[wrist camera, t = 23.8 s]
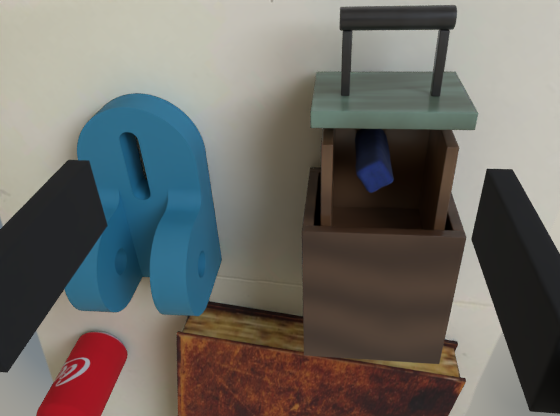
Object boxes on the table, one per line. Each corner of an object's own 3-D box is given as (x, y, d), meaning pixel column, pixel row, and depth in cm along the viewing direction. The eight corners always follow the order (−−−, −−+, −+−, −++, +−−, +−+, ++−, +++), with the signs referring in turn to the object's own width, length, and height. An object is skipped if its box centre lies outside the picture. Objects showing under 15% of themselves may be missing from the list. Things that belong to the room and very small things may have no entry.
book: (188, 422, 69) (178, 457, 64) (189, 298, 55) (176, 333, 51) (402, 458, 68) (406, 496, 63) (457, 341, 54) (466, 380, 50)
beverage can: (75, 325, 60) (20, 414, 50) (124, 329, 59) (79, 420, 49) (87, 359, 63) (38, 449, 53) (133, 363, 63) (93, 455, 53)
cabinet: (310, 167, 44) (301, 231, 36) (444, 170, 43) (466, 237, 35) (310, 281, 52) (303, 355, 44) (424, 287, 50) (439, 364, 42)
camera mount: (221, 259, 51) (196, 338, 43) (124, 256, 53) (81, 332, 44) (196, 92, 41) (156, 150, 33) (77, 94, 43) (9, 150, 34)
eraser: (365, 152, 40) (368, 197, 35) (352, 131, 40) (353, 173, 34) (389, 140, 40) (397, 184, 34) (376, 118, 39) (382, 159, 33)
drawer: (317, -8, 35) (310, 18, 29) (469, -11, 34) (497, 16, 28) (316, 206, 45) (311, 261, 39) (433, 209, 44) (448, 267, 38)
